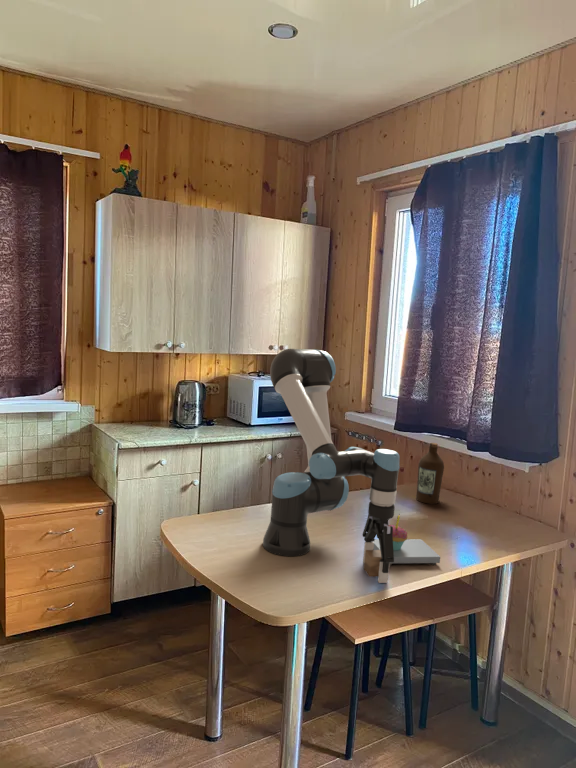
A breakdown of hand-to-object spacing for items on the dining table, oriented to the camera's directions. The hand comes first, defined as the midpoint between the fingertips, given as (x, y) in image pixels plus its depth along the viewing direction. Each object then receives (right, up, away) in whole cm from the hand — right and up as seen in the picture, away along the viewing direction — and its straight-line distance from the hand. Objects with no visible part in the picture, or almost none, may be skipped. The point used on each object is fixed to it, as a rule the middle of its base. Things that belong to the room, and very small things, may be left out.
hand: (374, 572), depth 174 cm
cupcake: (+8, +4, +13) cm, 15 cm away
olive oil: (+34, +6, +77) cm, 84 cm away
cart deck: (+11, +1, +14) cm, 18 cm away
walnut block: (0, 0, 0) cm, 0 cm away
